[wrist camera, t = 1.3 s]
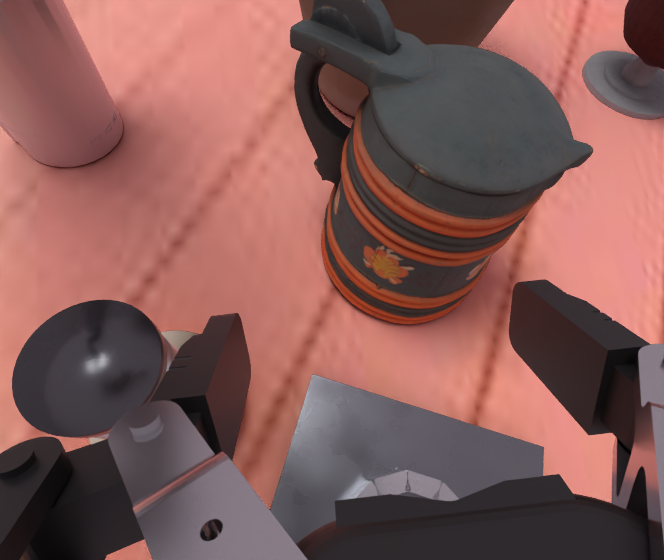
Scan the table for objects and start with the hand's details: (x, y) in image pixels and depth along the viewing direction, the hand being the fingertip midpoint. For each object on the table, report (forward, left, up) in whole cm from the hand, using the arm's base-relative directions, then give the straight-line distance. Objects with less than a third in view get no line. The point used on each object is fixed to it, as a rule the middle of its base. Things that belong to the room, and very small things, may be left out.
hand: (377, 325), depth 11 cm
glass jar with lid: (-11, -3, -18) cm, 21 cm away
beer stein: (0, +16, -20) cm, 26 cm away
